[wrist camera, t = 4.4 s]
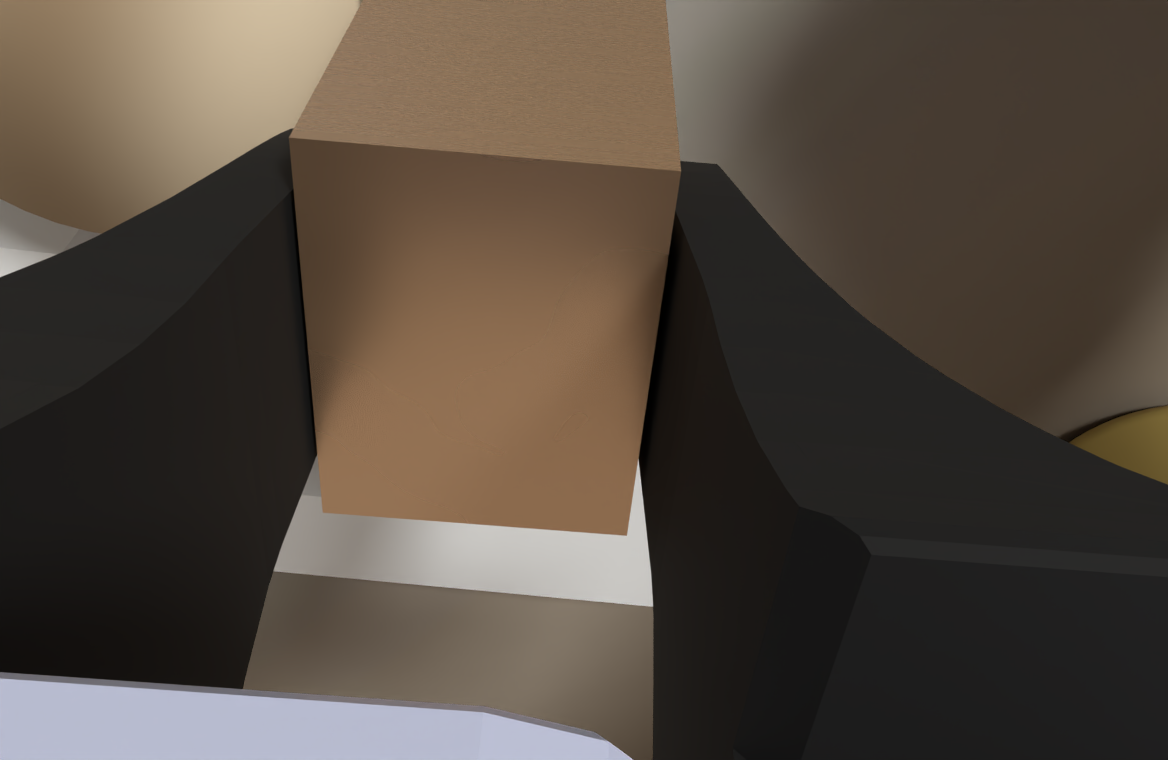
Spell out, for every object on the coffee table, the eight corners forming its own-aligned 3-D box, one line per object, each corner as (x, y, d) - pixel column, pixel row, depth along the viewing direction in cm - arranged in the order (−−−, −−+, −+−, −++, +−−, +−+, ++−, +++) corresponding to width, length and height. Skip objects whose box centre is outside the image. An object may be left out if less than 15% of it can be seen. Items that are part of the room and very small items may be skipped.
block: (662, -36, 12) (681, 171, 8) (625, 267, 15) (626, 536, 11) (394, -59, 12) (289, 138, 8) (402, 248, 15) (323, 512, 11)
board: (726, 270, 22) (735, 326, 21) (664, 545, 27) (667, 608, 26) (-82, 181, 22) (-138, 232, 20) (1, 481, 26) (-38, 542, 25)
